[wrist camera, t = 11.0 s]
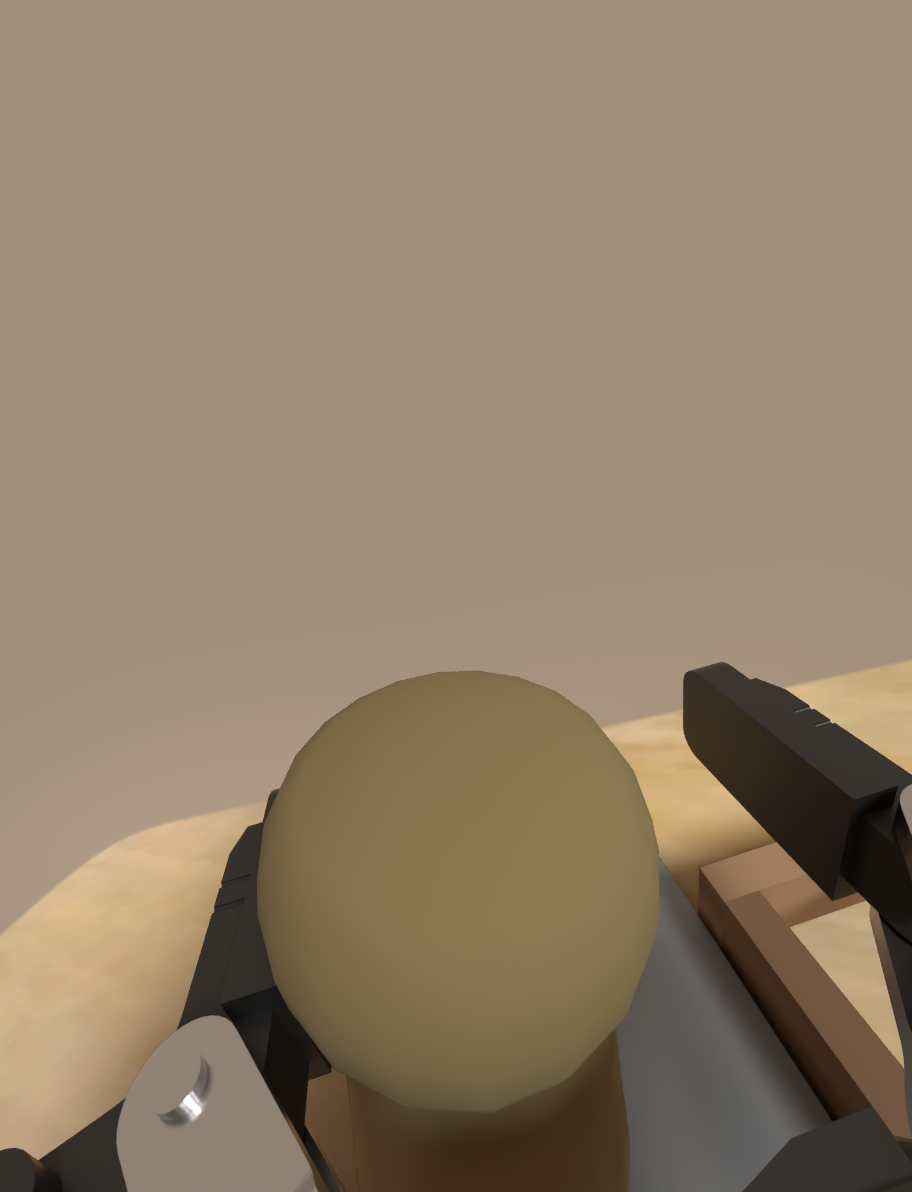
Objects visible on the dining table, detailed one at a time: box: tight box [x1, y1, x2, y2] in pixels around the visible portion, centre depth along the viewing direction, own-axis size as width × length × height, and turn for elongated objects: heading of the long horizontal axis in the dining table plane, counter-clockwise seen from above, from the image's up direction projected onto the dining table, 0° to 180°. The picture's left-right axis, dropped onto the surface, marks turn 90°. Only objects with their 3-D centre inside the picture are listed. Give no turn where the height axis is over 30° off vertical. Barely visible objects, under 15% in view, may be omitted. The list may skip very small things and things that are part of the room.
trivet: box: [616, 857, 832, 1192], centre depth 11 cm, size 9×9×1 cm
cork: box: [257, 671, 659, 1192], centre depth 8 cm, size 6×6×11 cm
